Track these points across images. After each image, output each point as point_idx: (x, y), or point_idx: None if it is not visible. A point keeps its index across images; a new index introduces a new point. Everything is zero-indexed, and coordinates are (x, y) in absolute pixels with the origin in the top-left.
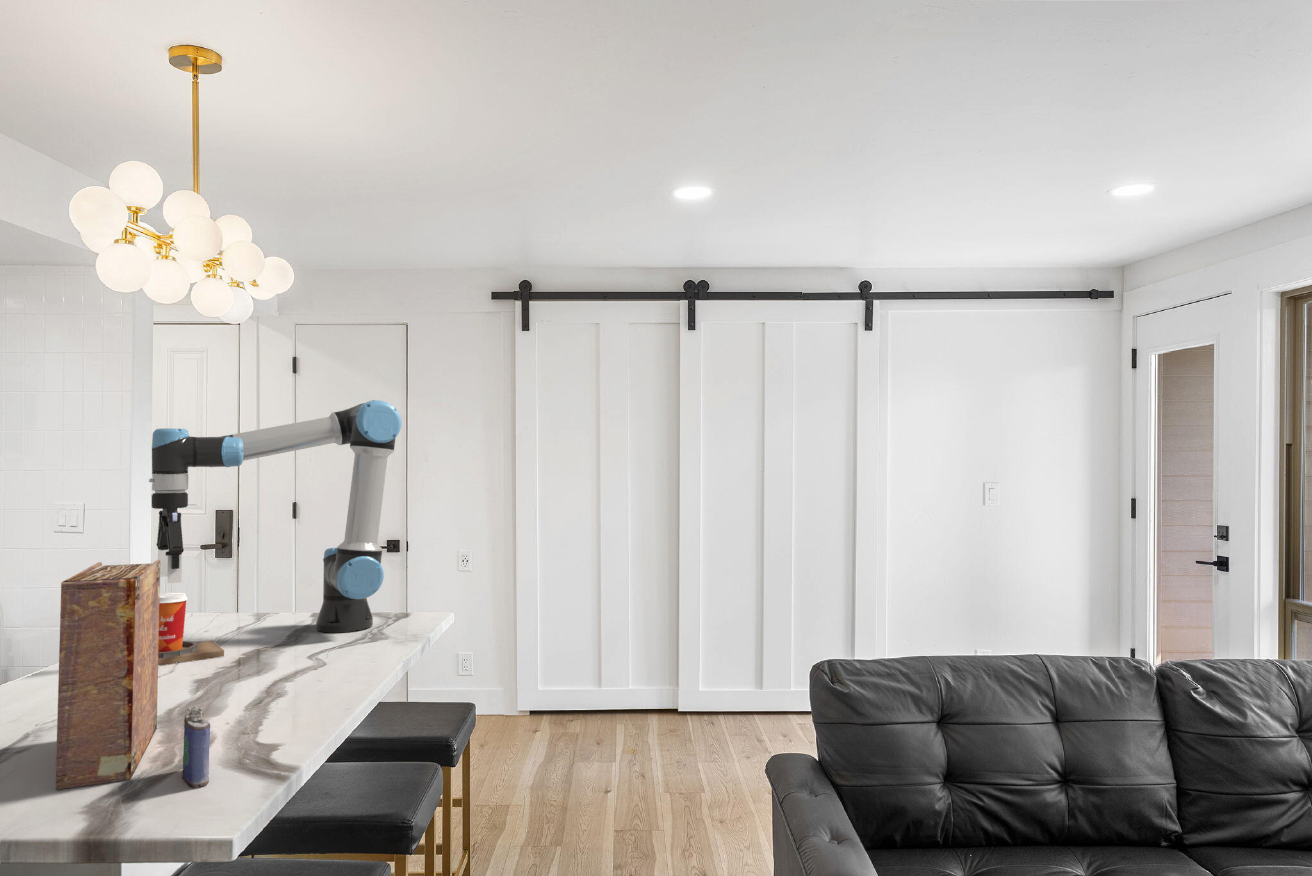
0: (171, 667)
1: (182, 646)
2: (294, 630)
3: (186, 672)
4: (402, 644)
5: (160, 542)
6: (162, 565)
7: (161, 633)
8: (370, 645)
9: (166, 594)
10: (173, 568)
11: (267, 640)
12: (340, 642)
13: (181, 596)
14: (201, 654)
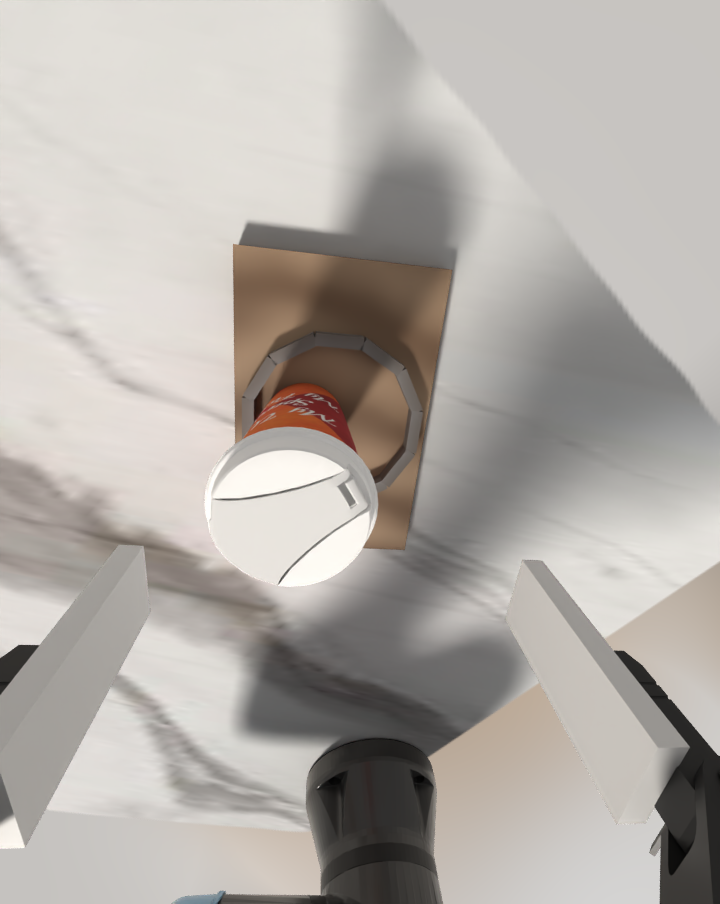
0: (189, 397)
1: (380, 473)
2: (428, 708)
3: (90, 413)
4: (101, 808)
5: (705, 886)
6: (557, 638)
7: (258, 416)
8: (134, 770)
9: (318, 515)
10: (12, 656)
11: (361, 645)
12: (212, 740)
13: (229, 558)
14: None
